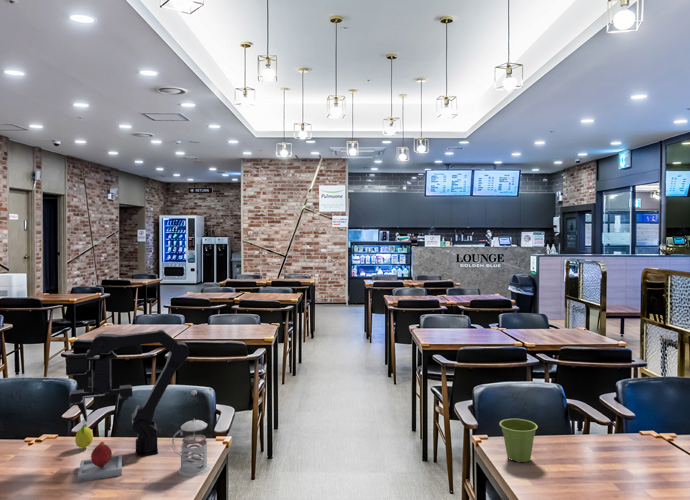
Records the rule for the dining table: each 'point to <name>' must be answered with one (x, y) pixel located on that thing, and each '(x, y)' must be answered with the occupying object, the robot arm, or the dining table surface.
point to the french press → (193, 449)
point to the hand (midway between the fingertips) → (101, 419)
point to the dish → (100, 469)
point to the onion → (101, 455)
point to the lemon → (84, 437)
